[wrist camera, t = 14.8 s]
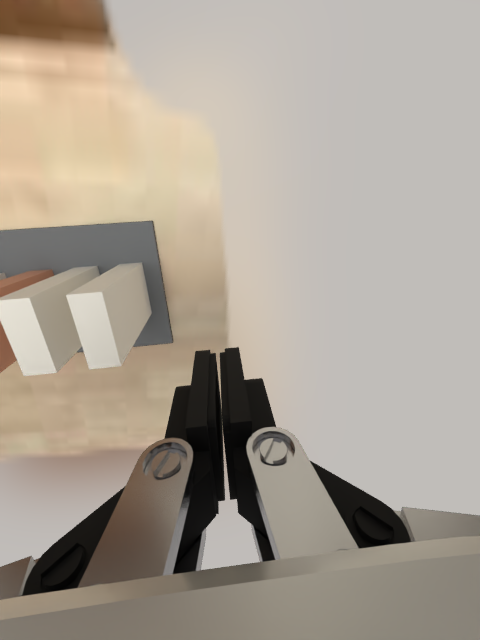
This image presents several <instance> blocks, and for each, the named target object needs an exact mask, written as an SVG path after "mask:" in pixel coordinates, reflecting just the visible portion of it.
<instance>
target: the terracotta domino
mask: <svg viewBox="0 0 480 640" xmlns="http://www.w3.org/2000/svg"><path fill="white" fill-rule="evenodd" d="M52 276H54V274H53V271H52V269H50V270H36V271H27V272H24V273H21V274H18V275H15V276H12V277H9V278H6V279H2V280H0V297H3V296H5V295H8V294H10V293H13V292H15V291H18V290H20V289H23V288H25V287H28V286H30V285H32V284H35V283H37V282H40V281H42V280H45V279H47V278H50V277H52ZM16 360H17V359H16V357H15V354H14V352H13V349H12V347H11V345H10V342H9V340H8V338H7V335H6V333H5V331H4V328H3V326H2V324H1V321H0V373H1V372H2V371H3V370H4V369H6V368H7V367H8V366H10V365H11V364H12V363H14V362H15V361H16Z"/></svg>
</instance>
